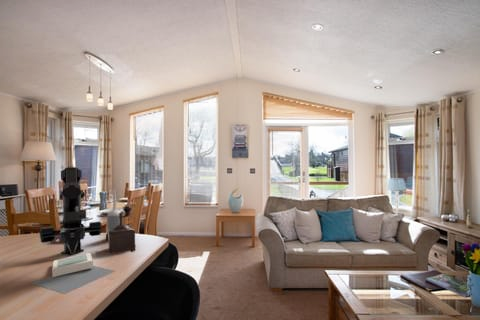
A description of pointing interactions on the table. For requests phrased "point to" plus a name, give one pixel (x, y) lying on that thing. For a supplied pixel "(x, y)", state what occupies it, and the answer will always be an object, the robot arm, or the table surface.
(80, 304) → the table surface
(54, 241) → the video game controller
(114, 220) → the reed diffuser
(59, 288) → the mat
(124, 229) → the coffee grinder
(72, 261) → the picture frame
